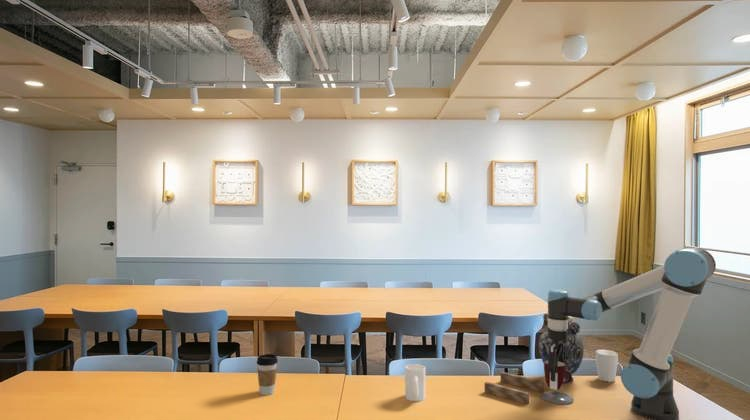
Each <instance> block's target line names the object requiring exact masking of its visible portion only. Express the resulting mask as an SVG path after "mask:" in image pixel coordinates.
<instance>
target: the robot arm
mask: <svg viewBox="0 0 750 420" xmlns="http://www.w3.org/2000/svg"><path fill="white" fill-rule="evenodd" d="M716 265H717V264H716V260H715V257H714V256H713V255H712V254H711V253H710V252H709V251H707V250H705V249H703V248H701V247H688V248H687V247H686V248H680V249H677V250H674V251H673V252H672V253H670V254H669V255H668V256H667V257H666V259H665V261H664V264H663V265H661V266H658V267H656V268H653V269H651V270H649V271H647V272H644V273H642V274H639V275H637V276H635V277H632V278H630V279H628V280H625V281H623V282H620V283H617V284H615V285H613V286H611V287H609V288H606V289H603V290H601V291H599V292H597V293H594V294H592V295H589V296H586V297H582V298H580V297H579V298H578V297H573V296H569V292H568V291H566V290H564V289H563V290H562V289H550V290H548V294H547V314H548V319H547V321H548V323H547V324H548V327H549V328H548V338H549V339H551V340H552V343H551V346H549V360H548V370H547V371H548V372H550V388H551V390H553V389H555V390H554V391H558V390H557V376H558V373H557V365H558V361H559V362H562V363H564V364H565V365H566V367H567V364H566V340H567V339H568V331H567V329H568V317H570V318H571V317H573V318H577V319H584V320H587V321H599V320H600V318H601V316H602V313H605V312H607V311H610V310H613V309H615V308H617V307H620V306H622V305H625V304H627V303H630V302H633V301H636V300H638V299H641V298H644V297H646V296H649V295H652V294H654V293H656V292H659V291H661V290H662V291H661V293H660V296H659V299H658V302H657V303H656V306H655V307H654V308H655V309H654V311H653V313H652V316H651V318H650V321H649V324H648V325H647V329H646V330H645V334H644V336H643V339H642V340H641V343H640V346H639V348H636V349H633V350H632V353H631V354H630V358H629V360H628V363H627V364H626V365H625V366H624V367H623V368H622V370H621V373H620V381H621V383H622V385H623V386H624V388H625V390H626V391H628V392H629V393H630V394H631V395H632V400H631V403H630V409H631V410H632V412H634V413H635V414H636V415H638V416H640V417H643V418H646V419H648V420H679V419H680V410H679V407H678V405H677V402H676V399H675V396H674V364H675V363H674V356H673V355H672V354H671V352H672V349H673V346H674V344H675V341H676V340H677V338H678V335H679V332H680V330H681V327H682V325H683V323H684V320H685V318H686V316H687V314H688V311H689V308H690V306H691V303H692V301H693V298H695V297H698V296H701V295H702V292H703V290H704V287H705V285H706V282H707V281H708V279H710V278H711V277H712V276H713V275H714V273H715V272H716V269H717V267H716ZM550 388H549V389H550Z"/></svg>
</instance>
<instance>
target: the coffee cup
mask: <svg viewBox="0 0 750 420" xmlns="http://www.w3.org/2000/svg"><path fill="white" fill-rule="evenodd" d="M277 364H278V357H277V355H276V354H274V353H267V354H266V353H265V354H261V355H259V356H257V360H256V365H257V380H258V389H259V390H258V391H259V394H260V395H261V396H270V395H273V394H275V388H276V387H275V386H276V379H277V378H276V377H277Z"/></svg>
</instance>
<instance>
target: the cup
mask: <svg viewBox="0 0 750 420" xmlns="http://www.w3.org/2000/svg"><path fill="white" fill-rule="evenodd" d="M594 358H595V364H596V372H597V377H598V379H599V380H601V381H602V380H603V382H606V381H608V382H607V383H613V382H615V381H616V377H617V376H616V375H617V370H618V369H617V368H618V363H619V355H618V353H617V352H616V351H613V350H608V349H597V350H595V357H594Z"/></svg>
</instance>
